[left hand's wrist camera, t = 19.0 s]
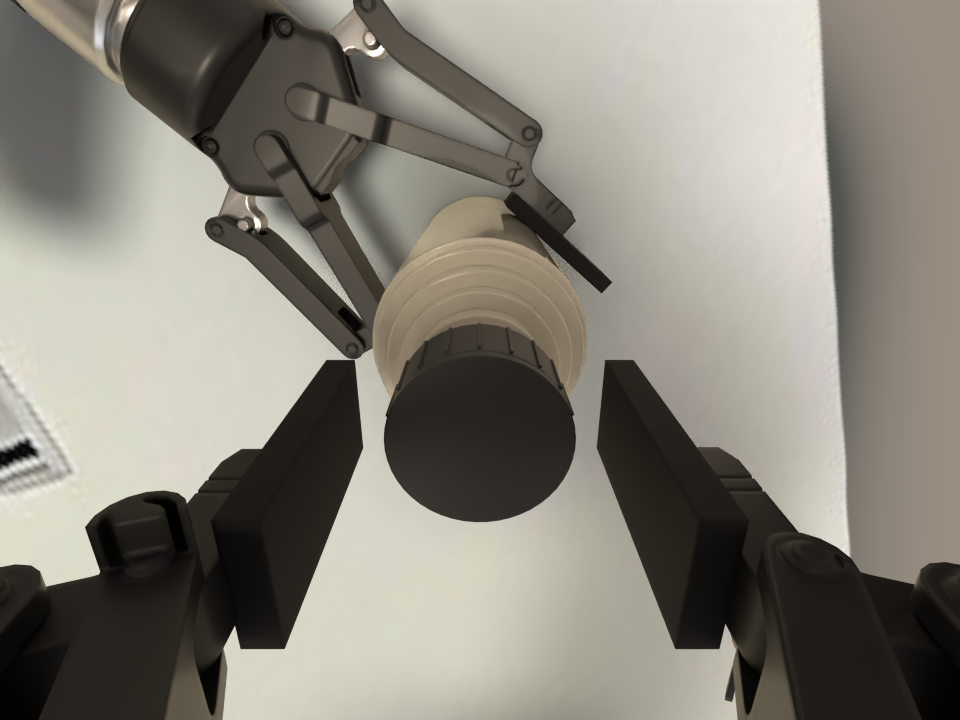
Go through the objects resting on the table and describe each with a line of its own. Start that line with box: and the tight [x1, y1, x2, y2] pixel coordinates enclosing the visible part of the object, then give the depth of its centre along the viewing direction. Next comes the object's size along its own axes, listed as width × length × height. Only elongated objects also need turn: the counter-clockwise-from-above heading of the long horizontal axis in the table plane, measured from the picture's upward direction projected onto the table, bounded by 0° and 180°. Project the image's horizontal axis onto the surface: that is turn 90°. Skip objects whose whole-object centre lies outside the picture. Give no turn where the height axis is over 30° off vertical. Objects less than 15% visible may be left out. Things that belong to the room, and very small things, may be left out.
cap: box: [384, 323, 576, 522], centre depth 14 cm, size 5×5×2 cm
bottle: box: [372, 196, 587, 398], centre depth 24 cm, size 8×8×22 cm
